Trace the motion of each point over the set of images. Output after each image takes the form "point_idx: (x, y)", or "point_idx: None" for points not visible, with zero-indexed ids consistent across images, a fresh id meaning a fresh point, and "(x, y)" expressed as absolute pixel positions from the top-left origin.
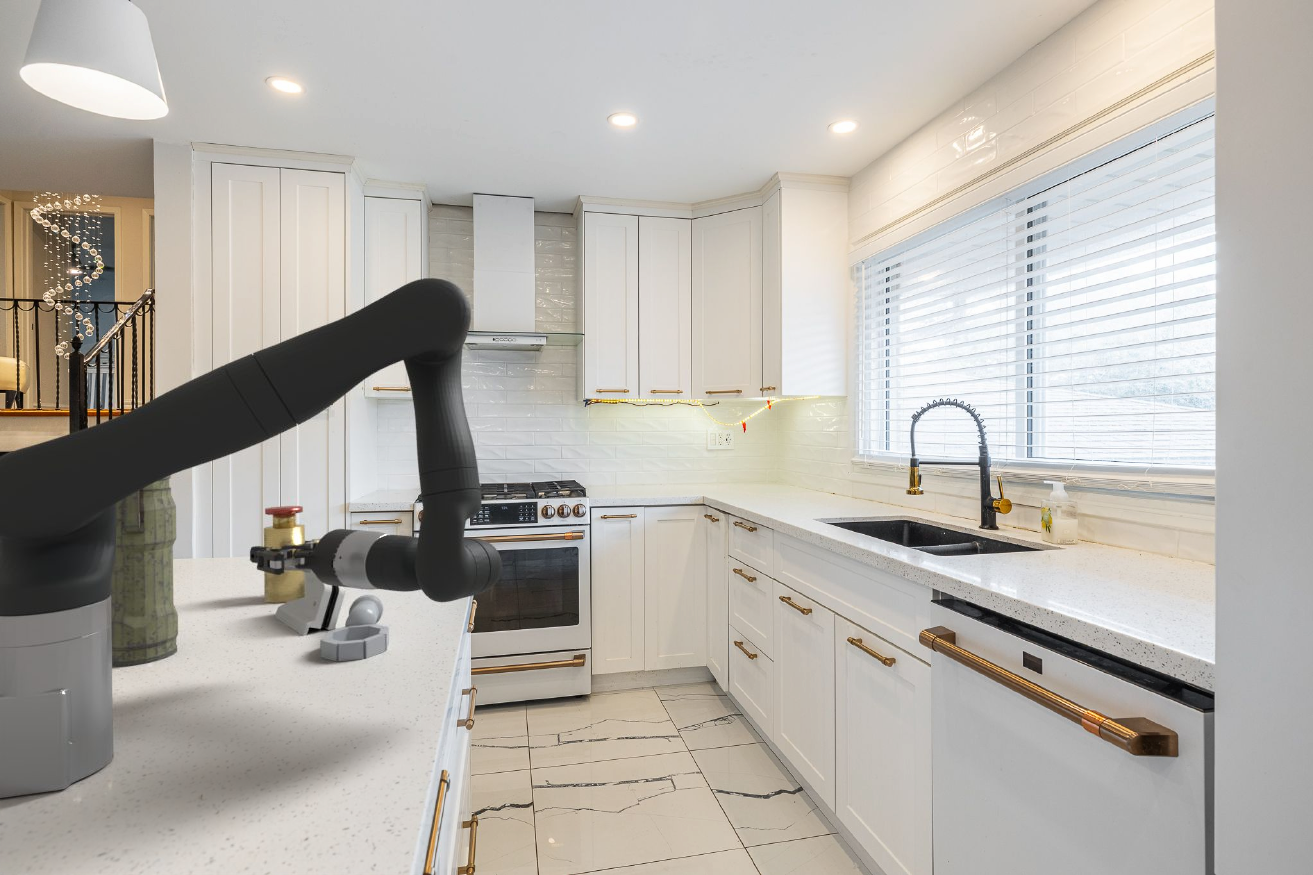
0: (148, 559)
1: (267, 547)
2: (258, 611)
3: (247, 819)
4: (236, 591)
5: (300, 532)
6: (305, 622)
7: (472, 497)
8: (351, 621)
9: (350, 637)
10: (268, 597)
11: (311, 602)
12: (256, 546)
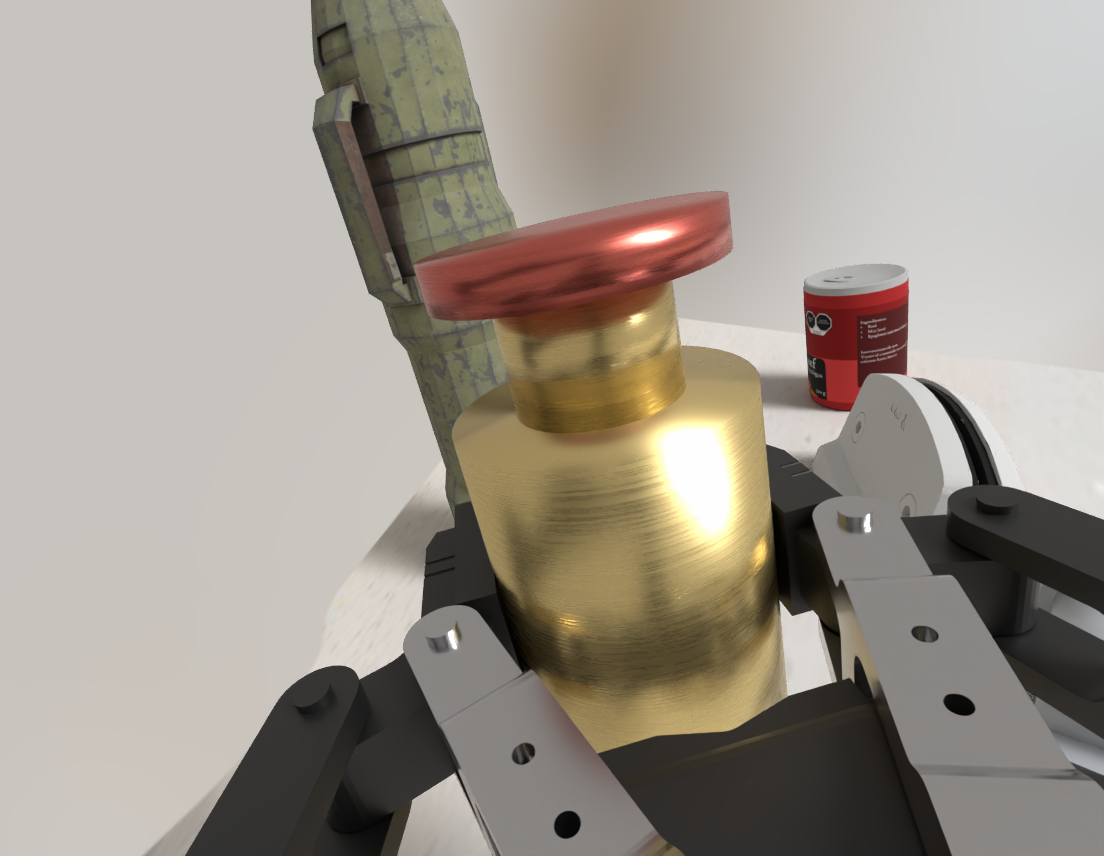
0: (458, 371)
1: (475, 570)
2: (784, 433)
3: None
4: (770, 353)
5: (695, 491)
6: None
7: None
8: (1067, 722)
9: None
10: None
11: (896, 499)
12: (470, 509)
